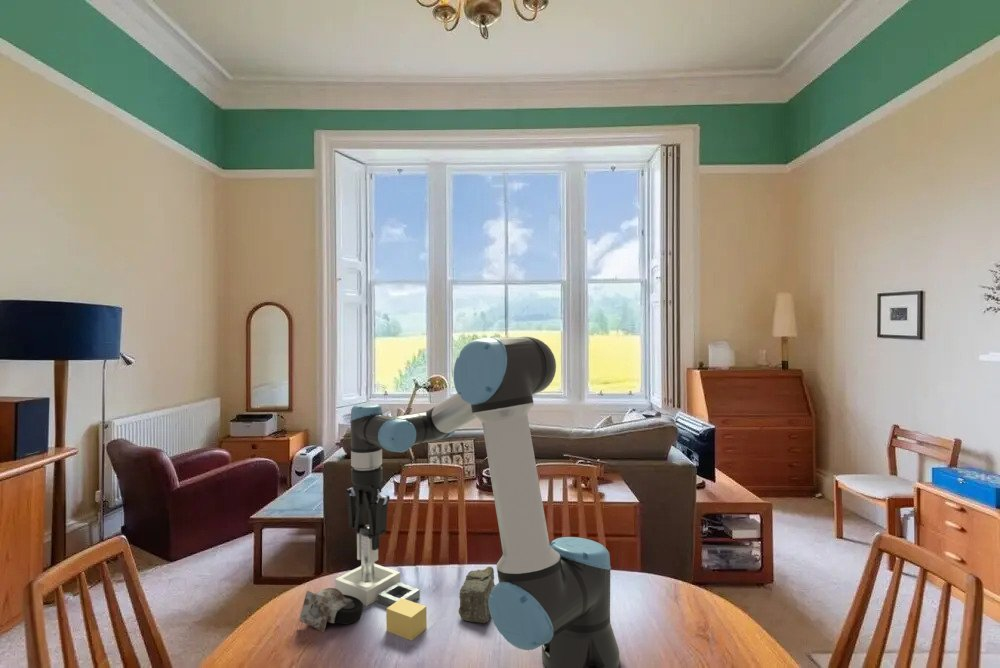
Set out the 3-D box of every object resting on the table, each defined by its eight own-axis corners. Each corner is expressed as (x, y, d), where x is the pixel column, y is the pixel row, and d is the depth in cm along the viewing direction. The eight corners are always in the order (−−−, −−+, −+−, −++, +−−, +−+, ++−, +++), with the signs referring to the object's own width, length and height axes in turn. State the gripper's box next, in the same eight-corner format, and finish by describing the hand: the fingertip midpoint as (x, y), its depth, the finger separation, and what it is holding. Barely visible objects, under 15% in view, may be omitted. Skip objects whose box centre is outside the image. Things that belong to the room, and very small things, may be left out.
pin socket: (419, 597, 128) (419, 589, 128) (399, 611, 122) (399, 602, 122) (398, 589, 131) (398, 581, 131) (377, 602, 126) (377, 594, 126)
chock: (426, 629, 115) (426, 606, 115) (411, 641, 111) (411, 617, 110) (402, 620, 118) (401, 598, 118) (386, 631, 114) (386, 608, 114)
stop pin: (367, 584, 129) (367, 531, 129) (356, 580, 131) (356, 528, 131) (379, 578, 132) (378, 526, 132) (368, 574, 134) (367, 523, 134)
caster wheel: (365, 623, 121) (340, 641, 112) (324, 605, 125) (297, 621, 115) (372, 594, 122) (348, 610, 112) (331, 577, 125) (305, 591, 116)
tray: (400, 586, 133) (400, 572, 133) (366, 606, 124) (366, 591, 124) (369, 574, 139) (369, 561, 139) (335, 593, 130) (335, 579, 130)
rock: (452, 572, 131) (490, 559, 132) (459, 598, 131) (498, 585, 132) (455, 607, 114) (499, 591, 115) (463, 636, 114) (507, 621, 115)
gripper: (401, 467, 130) (402, 561, 130) (356, 458, 139) (356, 546, 139) (378, 475, 123) (379, 574, 124) (333, 465, 132) (333, 557, 133)
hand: (367, 559), depth 132 cm, fingers closed on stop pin, 3 cm apart
